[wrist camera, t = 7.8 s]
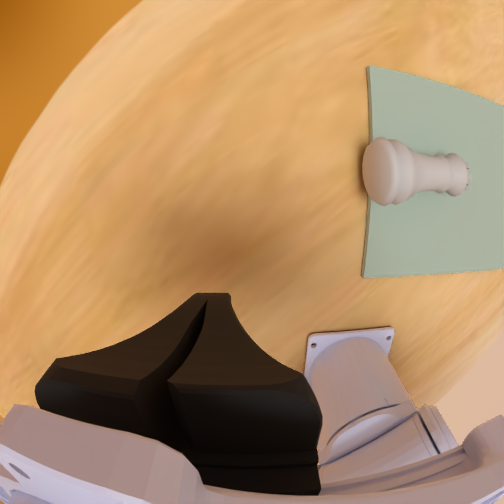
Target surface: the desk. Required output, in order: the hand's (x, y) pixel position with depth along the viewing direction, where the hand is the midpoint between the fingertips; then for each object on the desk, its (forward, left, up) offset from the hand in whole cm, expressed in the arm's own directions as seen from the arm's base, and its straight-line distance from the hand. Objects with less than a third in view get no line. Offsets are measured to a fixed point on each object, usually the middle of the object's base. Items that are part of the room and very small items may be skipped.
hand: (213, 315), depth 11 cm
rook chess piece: (+5, -9, -8) cm, 13 cm away
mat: (+5, -19, -10) cm, 22 cm away
